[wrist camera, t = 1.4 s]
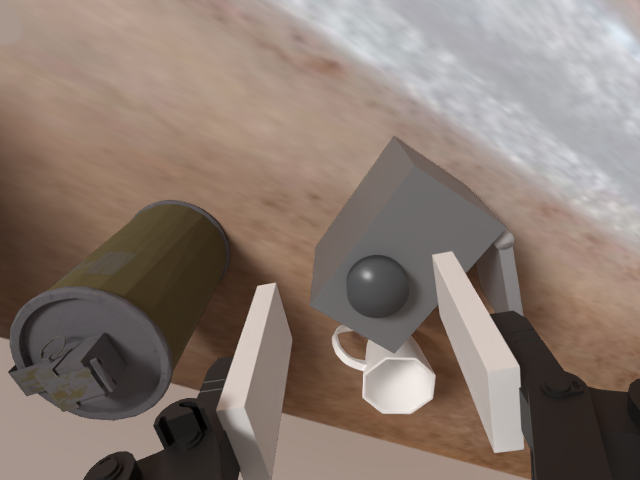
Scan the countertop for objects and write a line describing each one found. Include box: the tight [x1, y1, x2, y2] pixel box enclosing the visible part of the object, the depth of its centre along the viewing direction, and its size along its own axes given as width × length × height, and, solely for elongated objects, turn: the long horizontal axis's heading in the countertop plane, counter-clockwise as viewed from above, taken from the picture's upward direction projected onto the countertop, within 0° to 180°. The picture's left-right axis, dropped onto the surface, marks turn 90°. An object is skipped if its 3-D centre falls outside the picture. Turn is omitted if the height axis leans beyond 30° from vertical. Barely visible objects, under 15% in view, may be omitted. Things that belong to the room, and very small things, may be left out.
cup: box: [332, 325, 436, 414], centre depth 44 cm, size 7×10×8 cm
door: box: [476, 228, 524, 317], centre depth 38 cm, size 2×10×9 cm, turn 17°
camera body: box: [310, 136, 506, 354], centre depth 36 cm, size 8×13×12 cm, turn 147°
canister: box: [8, 200, 230, 420], centre depth 35 cm, size 11×10×20 cm
